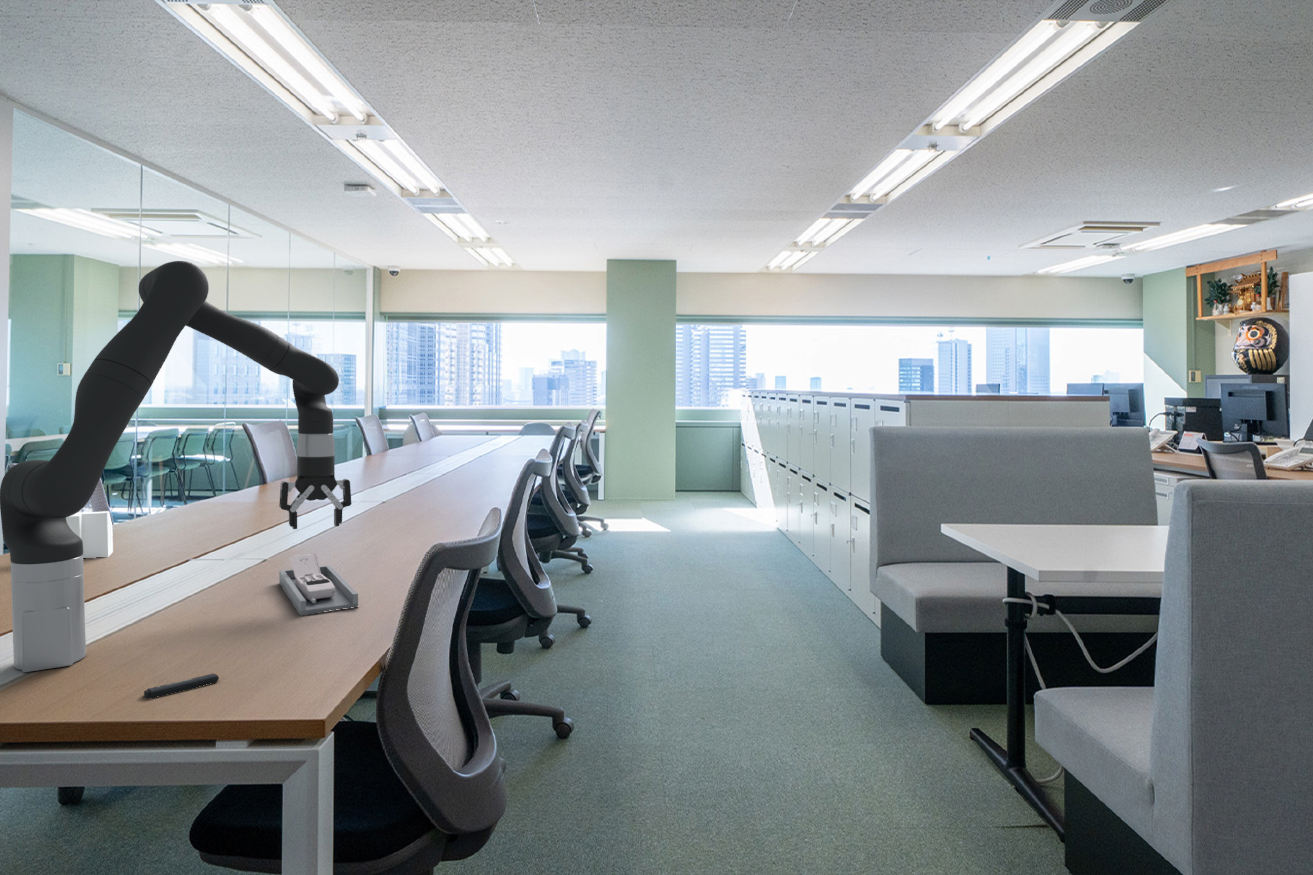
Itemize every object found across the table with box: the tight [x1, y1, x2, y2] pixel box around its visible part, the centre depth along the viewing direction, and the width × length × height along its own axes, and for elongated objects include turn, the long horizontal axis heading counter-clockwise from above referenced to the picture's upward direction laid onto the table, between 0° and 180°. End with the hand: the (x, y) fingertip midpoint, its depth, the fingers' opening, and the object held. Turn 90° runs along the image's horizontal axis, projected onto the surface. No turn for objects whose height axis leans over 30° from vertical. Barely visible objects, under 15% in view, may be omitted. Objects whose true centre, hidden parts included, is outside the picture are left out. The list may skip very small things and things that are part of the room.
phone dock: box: [278, 564, 359, 617], centre depth 164 cm, size 30×11×3 cm, turn 34°
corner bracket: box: [66, 510, 114, 559], centre depth 196 cm, size 11×11×12 cm
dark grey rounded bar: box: [143, 673, 220, 699], centre depth 112 cm, size 10×3×2 cm, turn 137°
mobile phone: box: [289, 552, 335, 603], centre depth 164 cm, size 6×6×25 cm
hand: (316, 527), depth 163 cm, fingers open, 8 cm apart
